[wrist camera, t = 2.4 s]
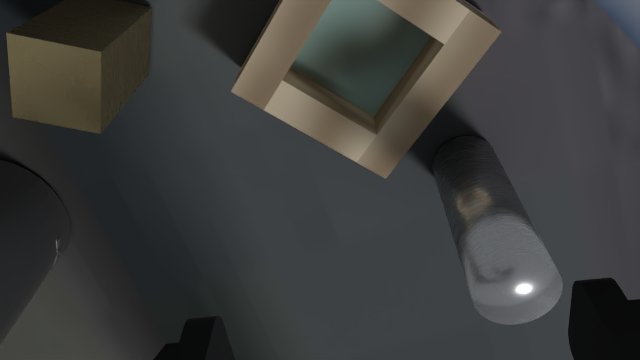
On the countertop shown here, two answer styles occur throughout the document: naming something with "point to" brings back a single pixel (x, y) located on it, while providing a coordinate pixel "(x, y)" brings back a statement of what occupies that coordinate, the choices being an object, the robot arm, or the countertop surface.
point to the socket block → (363, 70)
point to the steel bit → (494, 235)
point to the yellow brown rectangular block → (79, 62)
